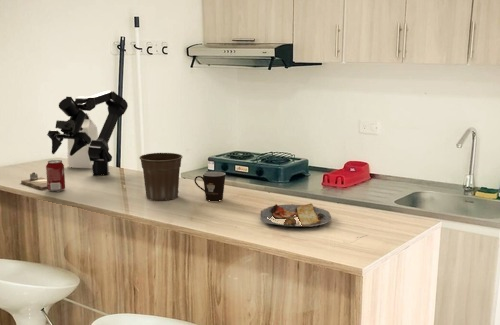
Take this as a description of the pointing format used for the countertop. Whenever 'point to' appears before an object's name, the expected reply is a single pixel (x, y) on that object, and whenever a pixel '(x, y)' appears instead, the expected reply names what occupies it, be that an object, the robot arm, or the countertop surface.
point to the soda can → (55, 176)
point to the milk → (81, 156)
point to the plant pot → (161, 175)
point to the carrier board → (36, 182)
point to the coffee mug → (213, 185)
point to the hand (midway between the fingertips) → (61, 154)
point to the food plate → (305, 214)
